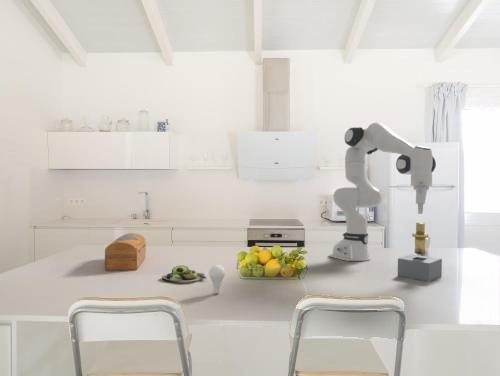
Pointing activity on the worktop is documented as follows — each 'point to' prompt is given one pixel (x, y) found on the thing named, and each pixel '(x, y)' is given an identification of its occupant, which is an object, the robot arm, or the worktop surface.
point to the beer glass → (427, 247)
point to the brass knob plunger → (420, 238)
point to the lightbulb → (216, 277)
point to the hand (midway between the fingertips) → (420, 212)
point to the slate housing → (419, 267)
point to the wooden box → (125, 253)
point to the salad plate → (183, 275)
